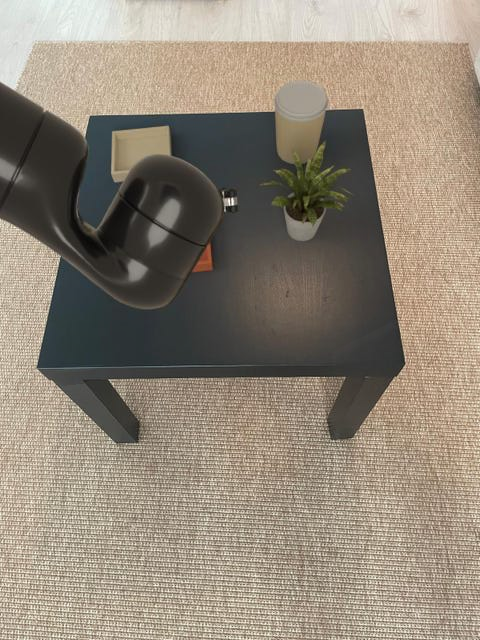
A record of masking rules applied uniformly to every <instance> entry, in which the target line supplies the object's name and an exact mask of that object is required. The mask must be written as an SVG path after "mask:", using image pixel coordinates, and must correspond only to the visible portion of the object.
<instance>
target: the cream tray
mask: <svg viewBox="0 0 480 640" xmlns="http://www.w3.org/2000/svg"><path fill="white" fill-rule="evenodd" d="M170 129H171V128H170V125H163V126H162V125H161V126H152V127H143V128H132V129H122V130H113V131H111V163H110V164H111V166H110V169H111V170H110V172H111V173H110V175H111V177H112V179H113V183H123V181H124V179H125V177H126V176H127V174H128V173H129V171H130V170H131V168H132V167H133V166H134V165H135V164H136V163H137V162H138V161H139V160H140V159H141V158H143V157H145V156H148V155H152V154H164V155H170V156H173V153H172V136H171V130H170Z"/></svg>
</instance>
